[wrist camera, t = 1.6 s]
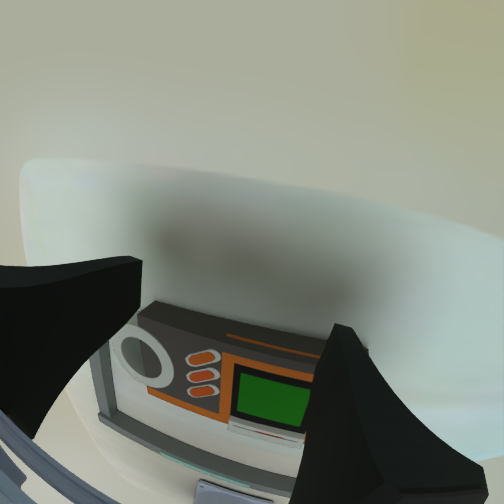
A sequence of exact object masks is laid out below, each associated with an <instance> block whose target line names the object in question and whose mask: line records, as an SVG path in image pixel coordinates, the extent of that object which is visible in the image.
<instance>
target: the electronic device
mask: <svg viewBox="0 0 504 504" xmlns="http://www.w3.org/2000/svg"><path fill="white" fill-rule="evenodd" d="M138 339H140V343H139V340H138ZM111 341H112V347H113V351H114V353H115V355H116V357H117V359H118V361H119V363H120V364H121V365H122V367H123V368H124V369H125V370H126V371H127V372H128V373H129V374H130V375H131V376H132V377H133V378H135V379H136V380H138V381H139V382H141V383H143V384H145V385H147V390H148V394H151V395H153V396H155V397H157V398H160V399H162V400H164V401H167V402H169V403H172V404H174V405H177V406H179V407H182V408H184V409H187V410H189V411H192V412H195V413H197V414H200V415H203V416H206V417H208V418H211V419H214V420H217V421H220V422H223V423H226V424H228V429H227V430H229V431H232V432H236V433H239V434H242V435H246V436H249V437H253V438H256V439H260V440H264V441H267V442H271V443H275V444H280V445H284V446H288V447H293V448H297V449H300V448H301V446H302V444H305V436H306V427H307V418H308V408H309V397H310V390H311V385H312V380H313V376H314V371H315V367H316V365H317V363H318V361H319V359H320V356H321V354H322V352H323V350H324V348H325V345H326V343H327V341H323V340H318V339H313V338H309V337H304V336H299V335H295V334H290V333H286V332H281V331H277V330H273V329H268V328H264V327H259V326H254V325H250V324H245V323H241V322H237V321H232V320H228V319H224V318H219V317H215V316H211V315H207V314H203V313H199V312H195V311H191V310H187V309H184V308H180V307H176V306H172V305H169V304H165V303H161V302H158V301H154V302H153V303H151V304H150V305H149V306H147V307H146V308H145V309H143V310H142V311H139V312H136V313H135V314H134V315H133V317H132V318H131V319H130V320H129V321H128V322H127V324H126V325H125V326H124V327H123V328H121V329H120V330H119V331H118V332H117V333H116V334H115V335H114V336H113V337H112V338H111ZM365 350H366V352H367V353H368V355H369V352H368V349H366V348H365Z"/></svg>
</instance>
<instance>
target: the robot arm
mask: <svg viewBox="0 0 504 504" xmlns="http://www.w3.org/2000/svg"><path fill="white" fill-rule="evenodd" d="M141 279H142V260H140V259H137V258H134V257H132V256H117V257H109V258H102V259H96V260H90V261H83V262H76V263H68V264H61V265H51V266H33V267H23V266H2V265H0V439H1V440H2V441H3V442H4V443H5V444H6V445H7V447H8V448H9V449H10V450H11V451H12V452H14V453H15V454H16V456H17V457H19V458H20V459H21V460H22V461H23V462H24V463H25V464H26V465H27V466H28V467H29V468H30V469H31V470H33V471H34V472H35V473H36V474H37V475H38V476H39V477H41V478H42V479H43V480H44V481H45V482H47V483H48V484H49V485H50V486H52V487H53V488H54V489H56V490H57V491H58V492H59V493H61V494H62V495H63V496H65V497H66V498H67V499H69V500H70V501H72V502H73V503H74V504H120V503H119V502H117V501H115V500H113V499H111V498H110V497H108V496H107V495H105V494H103V493H102V492H100V491H98V490H97V489H95V488H93V487H92V486H91V485H89V484H88V483H86V482H85V481H83V480H82V479H80V478H79V477H77V476H76V475H74V474H73V473H72V472H70V471H69V470H68V469H66V468H65V467H63V466H62V465H61V464H60V463H58V462H57V461H56V460H54V459H53V458H52V457H51V456H50V455H48V454H47V453H46V452H45V451H43V450H42V449H41V448H40V447H39V446H38V445H36V444H35V443H34V442H33V441H32V439H34V437H35V435H36V433H37V431H38V429H39V427H40V425H41V423H42V422H43V420H44V418H45V416H46V414H47V413H48V411H49V410H50V408H51V406H52V405H53V403H54V402H55V400H56V399H57V397H58V396H59V394H60V393H61V391H62V390H63V389H64V387H65V386H66V385H67V383H68V382H69V381H70V379H71V378H72V377H73V376H74V375H75V373H76V372H77V371H78V370H79V369H80V367H81V366H82V365H83V364H84V363H85V362H86V361H87V360H88V359H89V358H90V357H91V356H92V355H93V354H94V353H95V352H96V351H97V350H98V349H99V348H101V347H102V346H103V345H104V344H105V343H106V342H107V341H108V340H109V339H111V338H112V337H113V336H114V335H115V334H116V333H117V332H118V331H119V330H120V329H121V328H123V327H124V326H125V325H126V324H127V322H128V321H129V320H130V319H131V318H132V317H133V315H134V314H135V313H136V311H137V310H138V309H139V308H140V304H141ZM26 479H27V477H26V475H25V474H24V473H23V472H22V471H21V470H20V469H19V468H18V467H17V466H16V465H15V463H14V462H13V461H12V460H11V459H10V457H9V456H8V455H7V454H6V453H5V451H4V450H3V449H2V447H1V446H0V504H37V503H36V502H34V501H33V500H32V499H31V498H30V497H29V496H27V494H25V493H24V492H23V491H22V490H21V485H22V484H23V483H24V482H25V480H26ZM488 495H489V494H488V488H487V484H486V479H485V474H484V470H483V467H482V466H480V465H478V464H477V463H475V462H473V461H472V460H470V459H469V458H467V457H465V456H464V455H462V454H460V453H459V452H457V451H456V450H454V449H453V448H452V447H450V446H449V445H448V444H446V443H445V442H444V441H442V440H441V439H440V438H439V437H437V436H436V435H435V434H434V433H433V432H432V431H430V430H429V429H428V428H427V427H426V426H425V425H424V424H423V423H422V422H421V421H420V420H419V419H418V418H417V417H416V416H415V415H414V414H413V413H412V412H411V411H410V410H409V409H408V408H407V407H406V406H405V405H404V403H403V402H402V401H401V400H400V399H399V398H398V396H397V395H396V394H395V393H394V391H393V390H392V389H391V388H390V386H389V385H388V383H387V382H386V381H385V379H384V378H383V376H382V375H381V374H380V372H379V371H378V369H377V368H376V366H375V365H374V363H373V361H372V360H371V358H370V357H369V355H368V353H367V352H366V350H365V348H364V347H363V345H362V343H361V342H360V340H359V338H358V337H357V335H356V333H355V332H354V330H353V329H352V328H351V327H347V326H343V325H340V324H336V323H335V324H334V327H333V329H332V331H331V334H330V336H329V338H328V341H327V343H326V345H325V348H324V350H323V352H322V354H321V356H320V359H319V361H318V363H317V365H316V367H315V371H314V376H313V380H312V385H311V390H310V397H309V408H308V418H307V427H306V436H305V445H304V450H303V456H302V460H301V464H300V467H299V471H298V475H297V479H296V482H295V485H294V489H293V492H292V495H291V498H290V501H289V504H484V502H485V501H486V499H487V497H488ZM193 504H274V503H273V502H271V501H267V500H263V499H259V498H255V497H252V496H248V495H245V494H241V493H238V492H235V491H231V490H228V489H225V488H222V487H219V486H216V485H213V484H211V483H208V482H205V481H202V480H200V481H199V482H198V484H197V489H196V493H195V498H194V502H193Z"/></svg>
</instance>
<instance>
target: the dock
mask: <svg viewBox="0 0 504 504" xmlns="http://www.w3.org/2000/svg"><path fill="white" fill-rule="evenodd" d="M89 361H90V367H91V372H92V378H93V383H94V387H95V392H96V397H97V401H98V405H99V409H100V412H99V413H98V417H99V421H100V422H102V423H103V424H105V425H107V426H108V427H110V428H112V429H113V430H115V431H117V432H119V433H120V434H122V435H124V436H126V437H127V438H129V439H131V440H133V441H135V442H137V443H139V444H141V445H143V446H144V447H146V448H148V449H150V450H152V451H155V452H157V453H159V454H160V455H162V456H164V457H166V458H168V459H170V460H173V461H175V462H177V463H179V464H182V465H184V466H187V467H189V468H192V469H194V470H197V471H199V472H202V473H204V474H207V475H210V476H213V477H215V478H218V479H221V480H224V481H227V482H230V483H233V484H236V485H240V486H243V487H246V488H252V489H256V490H259V491H263V492H267V493H271V494H275V495H279V496H284V497H289V498H291V495H292V492H293V489H294V485H295V482H296V478H291V477H287V476H283V475H279V474H275V473H271V472H267V471H263V470H260V469H256V468H253V467H249V466H246V465H243V464H240V463H237V462H233V461H230V460H228V459H225V458H222V457H219V456H216V455H213V454H211V453H208V452H205V451H203V450H200V449H198V448H195V447H193V446H190V445H188V444H185V443H183V442H181V441H178V440H176V439H174V438H172V437H169V436H167V435H165V434H163V433H161V432H159V431H157V430H155V429H152V428H150V427H148V426H146V425H144V424H142V423H141V422H139V421H137V420H135V419H133V418H131V417H129V416H127V415H126V414H124V413H122V412H120V411H118V410H117V406H116V400H115V393H114V387H113V380H112V372H111V363H110V354H109V344H108V341H107V342H106V343H105V344H104V345H103V346H102V347H101V348H99V349H98V350H97V351H96V352H95V353H94V354H93V355H92V356H91V357H90V358H89Z"/></svg>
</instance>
